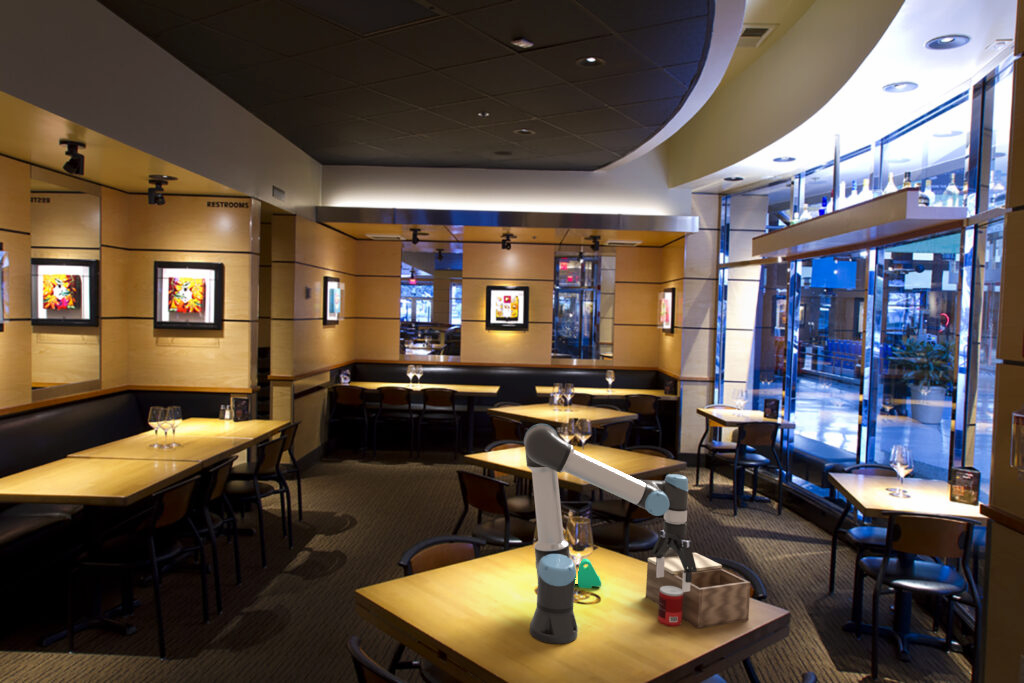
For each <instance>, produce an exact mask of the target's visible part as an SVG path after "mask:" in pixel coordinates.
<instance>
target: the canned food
mask: <svg viewBox="0 0 1024 683" xmlns="http://www.w3.org/2000/svg"><path fill="white" fill-rule="evenodd" d="M682 608H683V592H682V589H680V588H678V587H674V586H663V587H661V588H660V591H659V604H658V611H657V620H658V622H659V623H660V624H661V625H663V626H666V627H672V628H674V627H675V628H676V627H680V625H682V621H683V619H682Z"/></svg>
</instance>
